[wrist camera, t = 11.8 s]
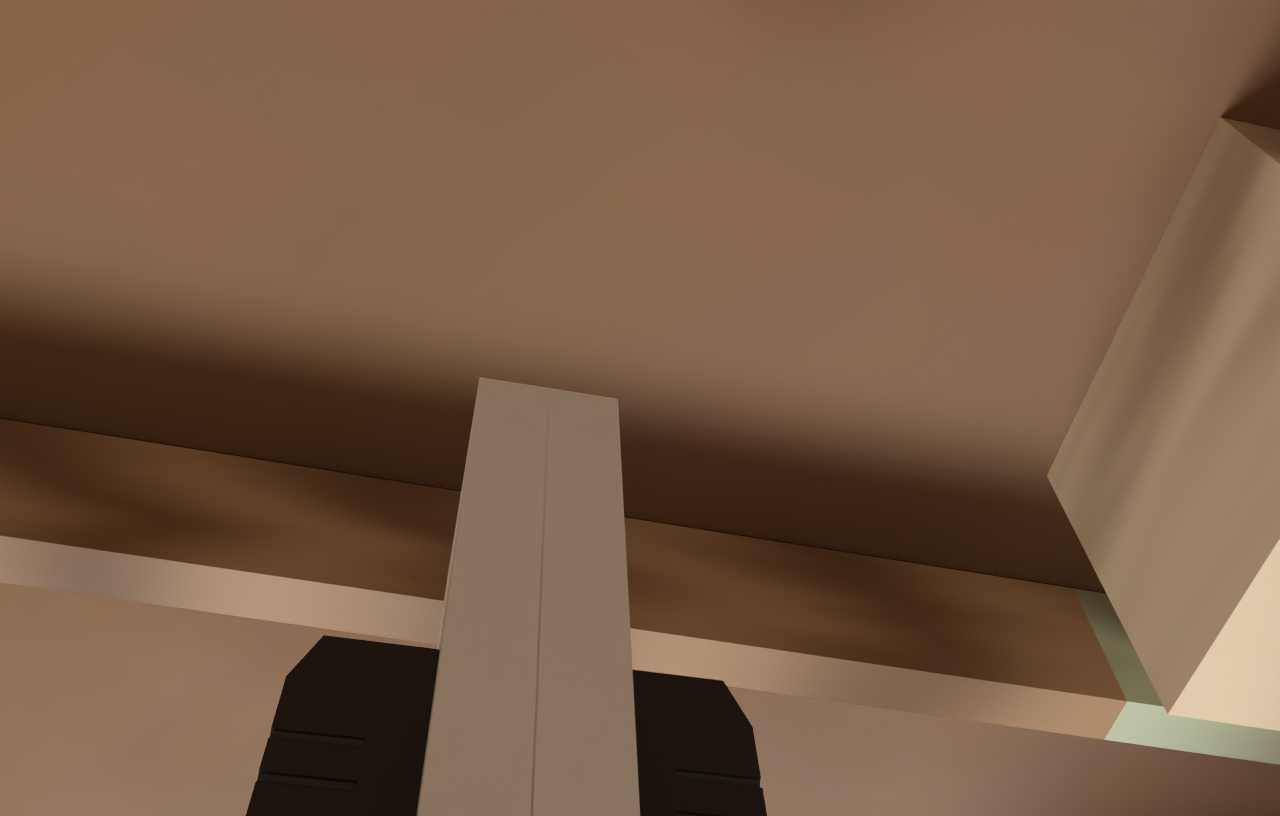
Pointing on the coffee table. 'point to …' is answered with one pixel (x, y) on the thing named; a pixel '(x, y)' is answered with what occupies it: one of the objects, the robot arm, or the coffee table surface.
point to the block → (1194, 445)
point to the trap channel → (657, 588)
